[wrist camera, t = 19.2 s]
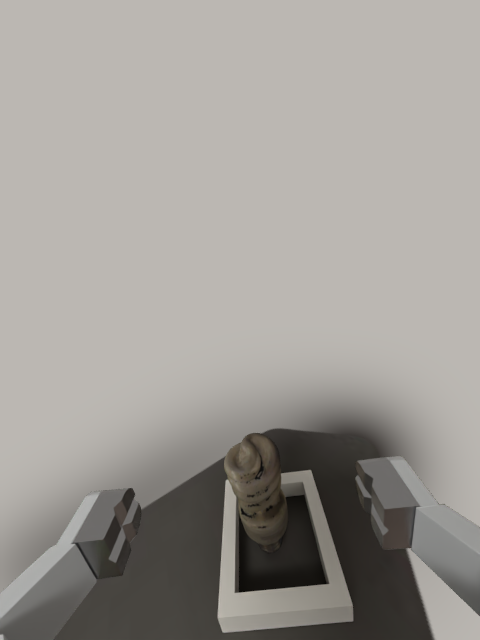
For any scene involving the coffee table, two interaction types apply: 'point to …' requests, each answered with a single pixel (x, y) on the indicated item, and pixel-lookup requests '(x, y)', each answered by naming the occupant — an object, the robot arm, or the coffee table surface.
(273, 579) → the coffee table surface
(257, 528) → the light bulb
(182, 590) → the coffee table surface
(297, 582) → the coffee table surface
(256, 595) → the bulb holder
